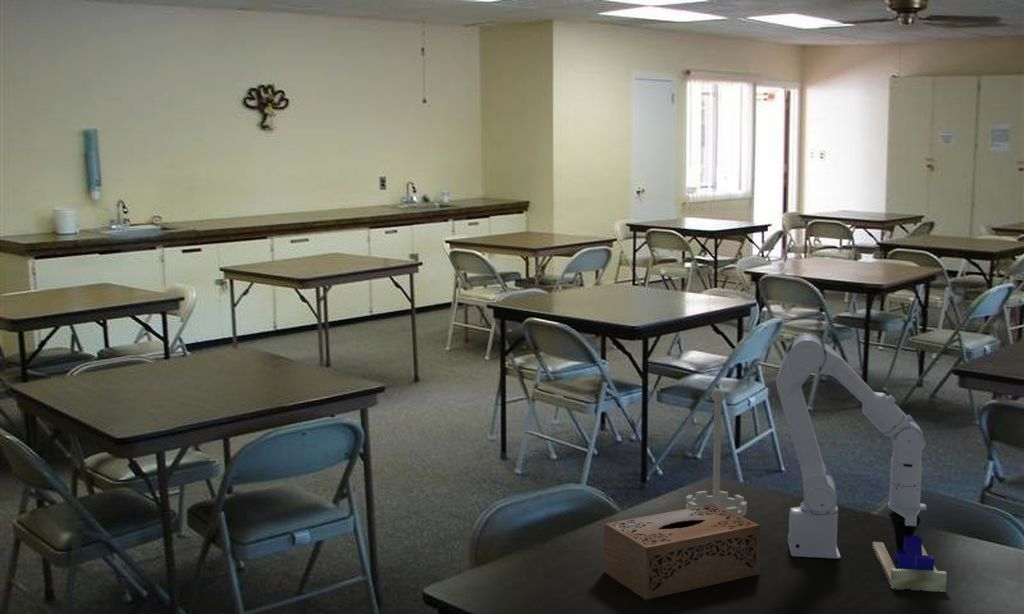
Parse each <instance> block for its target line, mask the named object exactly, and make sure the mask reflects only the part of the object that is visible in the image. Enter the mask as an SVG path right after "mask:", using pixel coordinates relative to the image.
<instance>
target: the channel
mask: <svg viewBox="0 0 1024 614" xmlns="http://www.w3.org/2000/svg"><path fill="white" fill-rule="evenodd" d="M872 549H874V550H873V551H875V552H874V554H875V553H876V554H875V556H876V558H877V561H878V560H879V561H878V562H880V563H879V565H880V564H881V565H880V567H881V566H882V567H881V569H882V571H883V570H884V571H883V574H884V573H885V574H884V576H885V575H886V576H885V578H886V577H887V578H886V580H887V579H888V580H887V582H888V585H889V584H890V585H889V586H891V587H890V589H891V588H892V590H904V589H911V590H910V591H920V590H922V591H923V592H924V591H925V592H938V591H939V593H941V592H942V593H946V592H947V579H948V578H947V577H948V575H947V574H948V573H947V572H946V570H938V569H937V568H936V566H935V565H934V571H932V570H915V569H897V567H896V565H895V563H894V561H893V560H892V558H891V555H890V554H889V552H888V550H887V547H886V546H885V544H884V542H882V541H872ZM922 555H928V556H929V554H928V553H927V551H926V549H925V548H924V546H923V545H922ZM895 588H896V589H895Z"/></svg>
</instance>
